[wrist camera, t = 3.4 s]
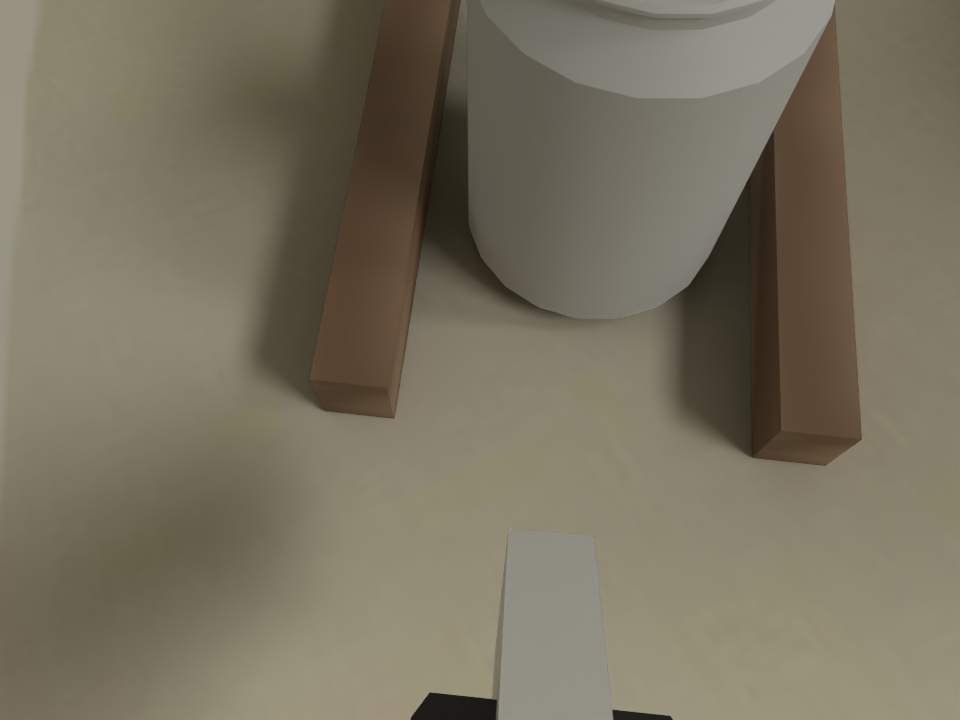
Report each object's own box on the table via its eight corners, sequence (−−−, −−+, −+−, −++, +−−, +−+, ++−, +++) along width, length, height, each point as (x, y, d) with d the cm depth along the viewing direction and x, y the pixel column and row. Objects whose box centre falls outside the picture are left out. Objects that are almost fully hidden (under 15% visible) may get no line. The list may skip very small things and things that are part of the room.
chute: (805, 21, 30) (832, -34, 28) (825, 465, 24) (861, 439, 22) (405, -16, 30) (400, -74, 28) (323, 410, 24) (309, 379, 22)
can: (449, 141, 28) (435, -241, 17) (674, 111, 28) (803, -278, 17) (489, 351, 25) (504, 57, 14) (738, 313, 26) (941, 2, 15)
